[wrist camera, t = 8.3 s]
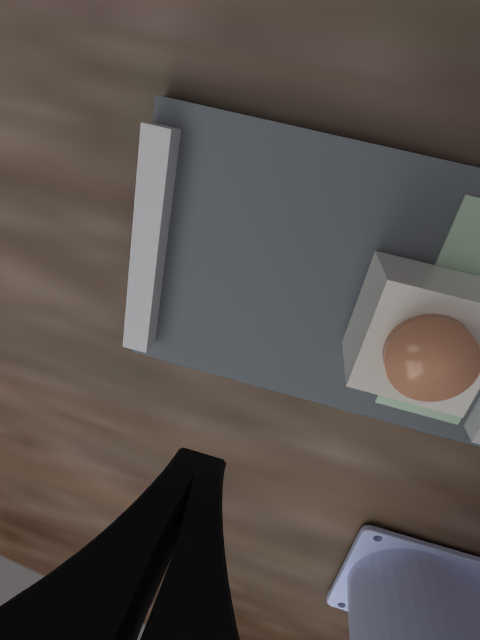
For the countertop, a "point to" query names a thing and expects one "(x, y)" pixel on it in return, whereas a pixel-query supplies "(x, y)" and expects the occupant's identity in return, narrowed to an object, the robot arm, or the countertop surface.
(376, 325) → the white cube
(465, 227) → the rail mat
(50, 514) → the countertop surface
